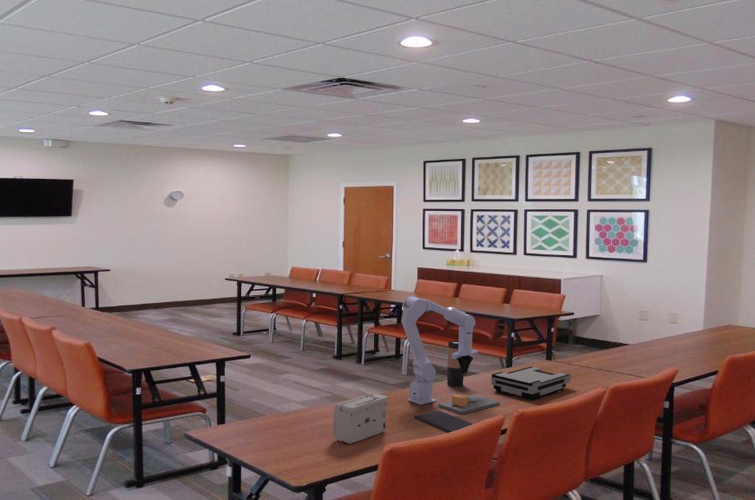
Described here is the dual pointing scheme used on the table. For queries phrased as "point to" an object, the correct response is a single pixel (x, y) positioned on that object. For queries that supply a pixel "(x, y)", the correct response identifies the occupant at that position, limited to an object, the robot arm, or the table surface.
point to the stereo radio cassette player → (360, 417)
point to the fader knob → (459, 400)
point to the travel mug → (453, 366)
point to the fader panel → (470, 405)
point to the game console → (529, 382)
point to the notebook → (443, 421)
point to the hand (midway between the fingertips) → (464, 373)
